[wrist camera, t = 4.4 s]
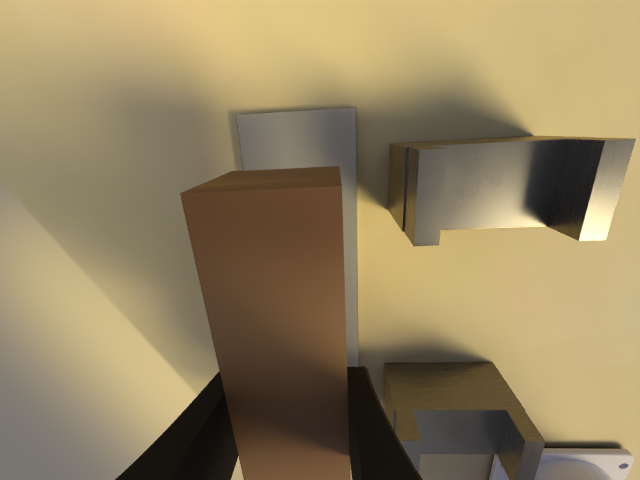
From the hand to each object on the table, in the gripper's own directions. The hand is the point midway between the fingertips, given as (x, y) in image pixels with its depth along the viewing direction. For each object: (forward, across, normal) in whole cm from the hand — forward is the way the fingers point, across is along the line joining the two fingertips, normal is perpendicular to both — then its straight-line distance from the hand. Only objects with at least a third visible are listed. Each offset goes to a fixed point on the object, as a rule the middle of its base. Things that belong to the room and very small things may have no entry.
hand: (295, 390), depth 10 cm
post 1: (+6, -7, -6) cm, 11 cm away
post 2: (+6, -7, +6) cm, 11 cm away
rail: (+2, 0, 0) cm, 2 cm away
